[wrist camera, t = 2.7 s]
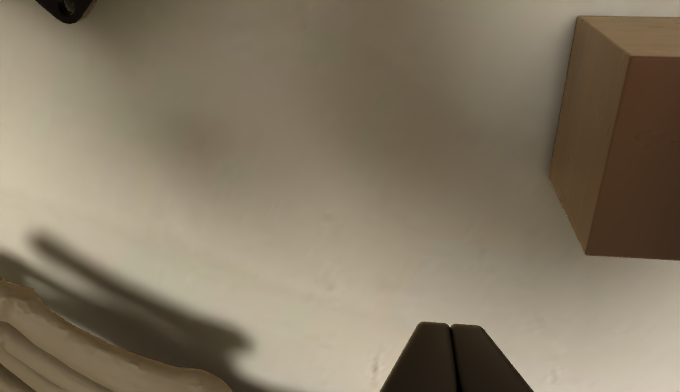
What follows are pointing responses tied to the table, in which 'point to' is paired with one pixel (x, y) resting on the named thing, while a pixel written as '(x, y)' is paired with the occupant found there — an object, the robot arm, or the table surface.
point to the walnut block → (622, 137)
